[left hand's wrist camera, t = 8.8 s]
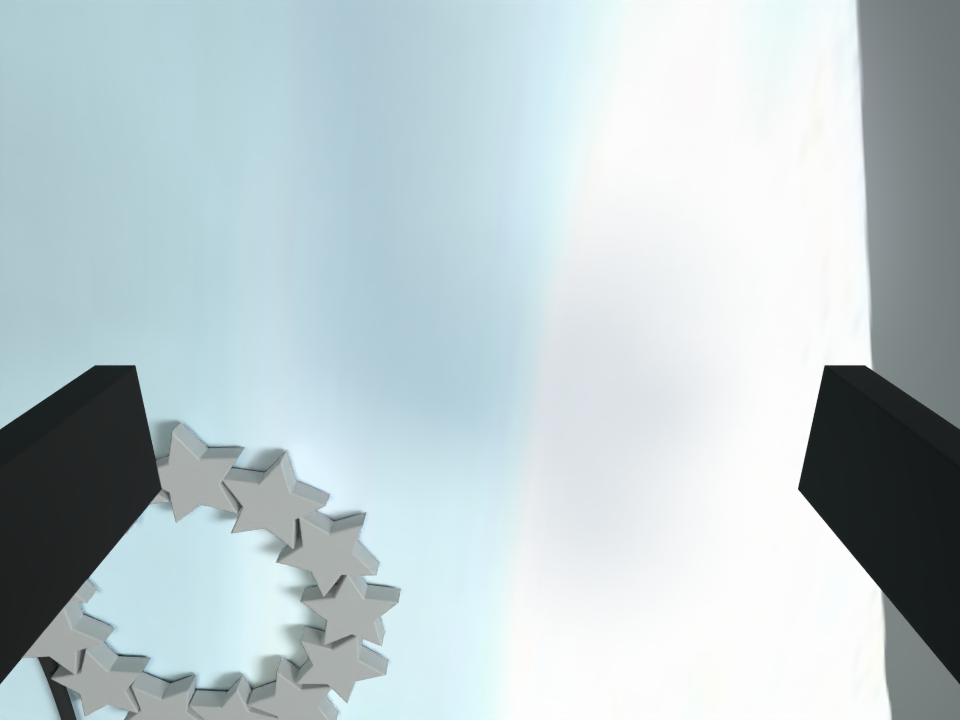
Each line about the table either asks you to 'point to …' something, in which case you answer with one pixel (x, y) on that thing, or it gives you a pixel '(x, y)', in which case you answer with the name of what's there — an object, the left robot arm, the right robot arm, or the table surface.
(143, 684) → the decorative wreath
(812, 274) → the table surface
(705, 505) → the table surface
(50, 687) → the right robot arm
